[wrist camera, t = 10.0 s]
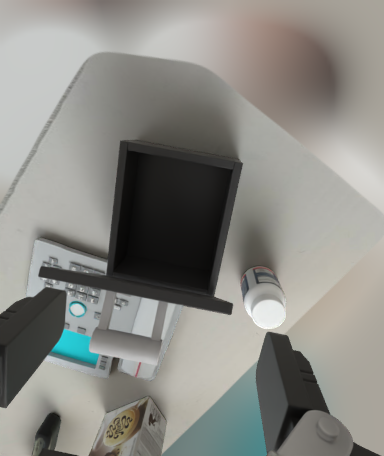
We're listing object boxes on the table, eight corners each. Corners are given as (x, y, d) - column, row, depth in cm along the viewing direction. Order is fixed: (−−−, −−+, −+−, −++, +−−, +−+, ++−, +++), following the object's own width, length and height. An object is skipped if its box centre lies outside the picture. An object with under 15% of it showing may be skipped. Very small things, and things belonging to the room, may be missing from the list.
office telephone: (189, 292, 45) (152, 401, 50) (190, 283, 47) (155, 388, 53) (29, 242, 44) (9, 357, 50) (39, 236, 47) (19, 346, 52)
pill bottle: (254, 305, 47) (262, 342, 39) (233, 278, 46) (236, 310, 38) (284, 285, 46) (300, 319, 37) (263, 258, 45) (274, 286, 37)
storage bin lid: (40, 265, 22) (17, 344, 22) (233, 303, 22) (219, 385, 21) (105, 275, 40) (94, 319, 39) (214, 296, 39) (206, 341, 38)
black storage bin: (135, 140, 42) (120, 140, 35) (239, 159, 42) (242, 163, 35) (121, 257, 47) (105, 276, 40) (214, 275, 46) (213, 298, 40)
